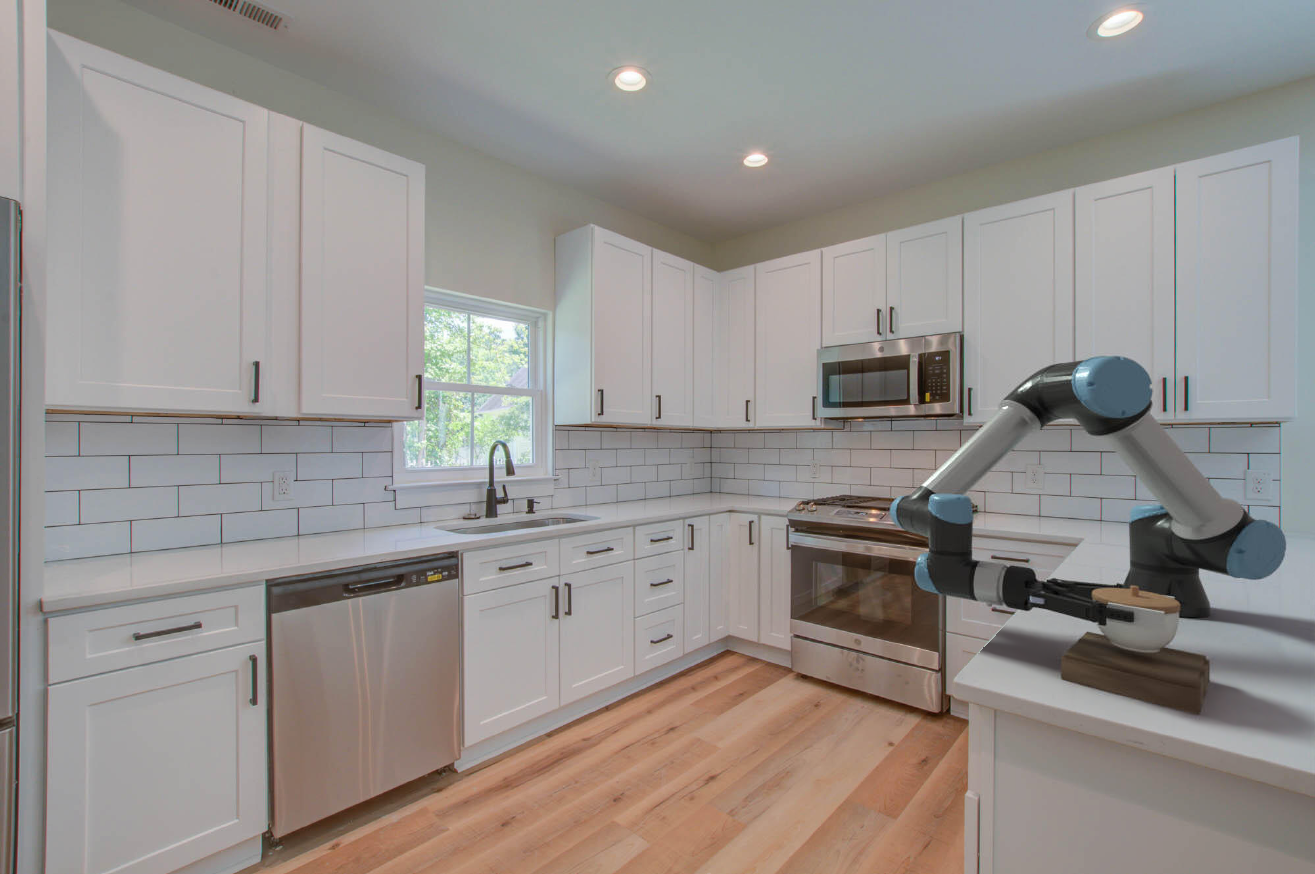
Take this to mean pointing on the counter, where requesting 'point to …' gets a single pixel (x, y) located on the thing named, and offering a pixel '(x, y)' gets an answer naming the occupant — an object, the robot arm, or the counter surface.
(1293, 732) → the counter surface
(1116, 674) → the walnut stand
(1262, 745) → the counter surface
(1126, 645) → the lidded jar
